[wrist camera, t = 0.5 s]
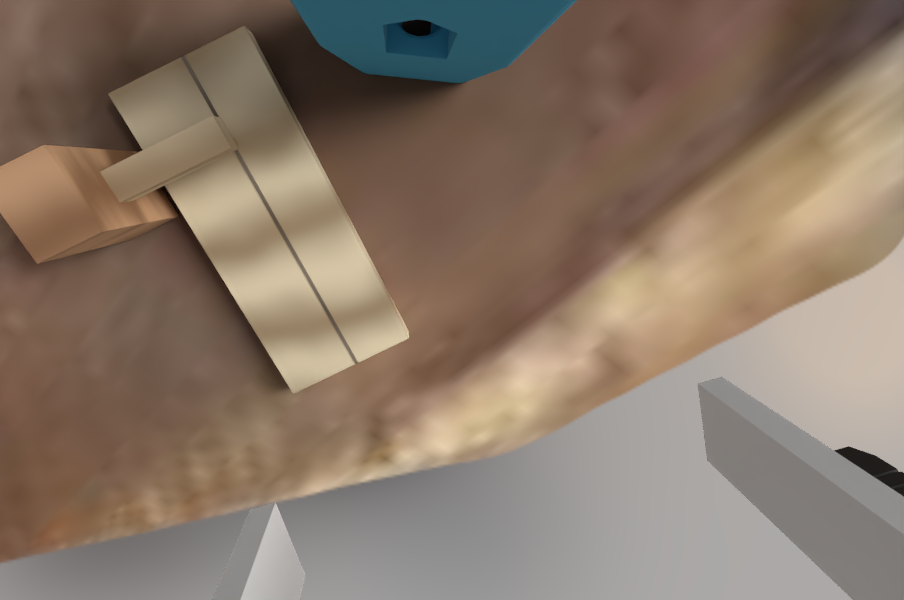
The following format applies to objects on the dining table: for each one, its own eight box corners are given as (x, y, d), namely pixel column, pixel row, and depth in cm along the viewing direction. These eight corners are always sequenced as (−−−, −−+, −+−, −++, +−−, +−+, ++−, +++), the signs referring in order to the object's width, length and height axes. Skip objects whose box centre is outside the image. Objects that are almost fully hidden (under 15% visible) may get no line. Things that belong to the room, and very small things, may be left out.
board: (122, 97, 35) (107, 93, 33) (251, 32, 35) (243, 25, 33) (297, 384, 41) (293, 394, 40) (408, 330, 41) (409, 338, 39)
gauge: (81, 180, 36) (-35, 183, 27) (233, 104, 36) (172, 80, 26) (123, 243, 38) (27, 268, 28) (270, 170, 37) (225, 171, 28)
